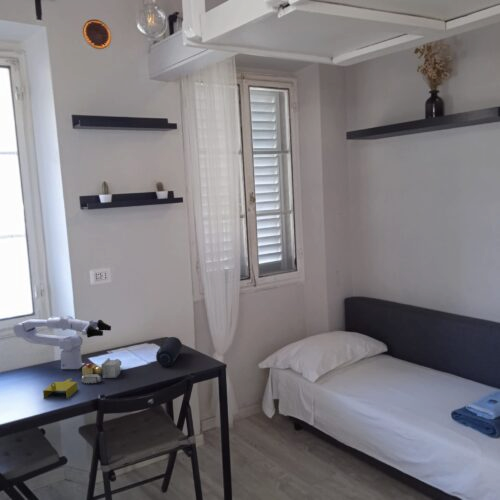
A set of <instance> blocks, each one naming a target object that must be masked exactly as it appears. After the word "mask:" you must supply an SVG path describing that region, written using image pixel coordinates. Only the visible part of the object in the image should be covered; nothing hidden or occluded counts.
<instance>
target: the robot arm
mask: <svg viewBox="0 0 500 500" xmlns="http://www.w3.org/2000/svg"><path fill="white" fill-rule="evenodd" d="M42 327H47V328H48V329H49V330H51V329H52V330H62V331H67V330H71V331H76V332H81V334H82V335H84V336H86V337H87V338H92V337H101V336H104V331H111V330H112V325H109V324H107V323H105V322H104V321H103V320H102V319H98V320H97V321H93V319H89V321H88V320H82V319H77V318H73V316H71V315H66V316H65V317H63V316H62V315H61V316H59V317H57V316H54V315H53V316H50V317H48V318H47V319H37V318H36V319H34V318H31V319H26V320H24V321H21V322H19V323H15V324H14V326H13V328H12V330H13V332H14V334H15V336H16V337H17V338H21V339H23V340H24V341H26V342H27V343H28V344H33V345H34V344H35V345H43V346H51V347H59V349H61V352H60V365H61V367H60V369H61V370H79V369H82V368H83V367H84V366H85V365H86V363H85V362H83V361H82V352H81V348H82V347H81V346H82V345H83V338H82V336H81V335H79V334H74V335H66V336H62V335H53V334H44V333H38V330H37V328H42Z"/></svg>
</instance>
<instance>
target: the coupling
mask: <svg viewBox="0 0 500 500" xmlns="http://www.w3.org/2000/svg"><path fill="white" fill-rule="evenodd" d="M121 366H122V361H121V359H117V358H116V359H111V358H106V360H104V362H102V363H101V367H102V374H101V377H102V379H103V378H104V379H111V378H112V379H113V378H117V377H118V376H119V375H120V374H121V373H122V370H121Z"/></svg>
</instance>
